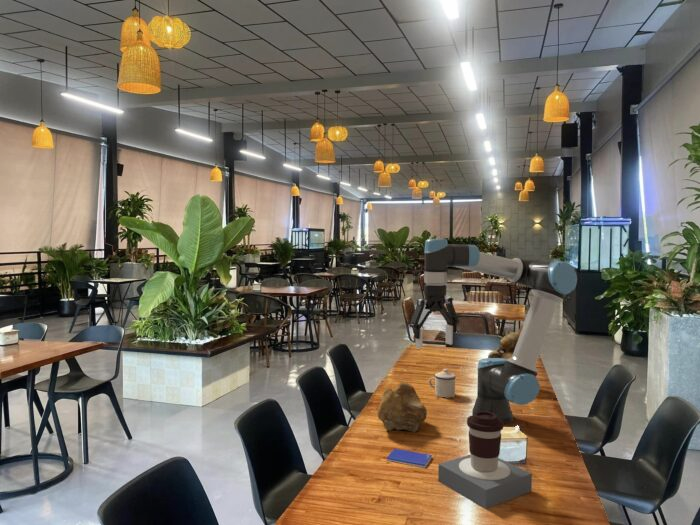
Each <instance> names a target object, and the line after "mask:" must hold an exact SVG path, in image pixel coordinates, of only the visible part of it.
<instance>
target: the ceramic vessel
mask: <svg viewBox="0 0 700 525" xmlns="http://www.w3.org/2000/svg"><path fill="white" fill-rule="evenodd" d="M523 325H524V324H521V326H520V328H519V329H518V330H517V332H510V331H509V330H508V329H507V330H506V331H505V335H504V336H503V337H502V339H500V340H499V347H498V348H497V349H495V350H493V351H491V352H489V353H488V355H487V358H504V359H509V358H511V357H512V355H513V353H514V350H515V347H516V344H517V342H518V339H519V336H520V333H521V330H522V328H523ZM502 351H503V352H502Z"/></svg>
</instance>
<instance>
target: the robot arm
mask: <svg viewBox="0 0 700 525" xmlns="http://www.w3.org/2000/svg"><path fill="white" fill-rule="evenodd" d="M423 252H424V253H423V254H424V270H423V271H424V274H423V277H424V278H423V279H424V282H423V283H424V285H423V295H424V297H425V298H424V299H421V298H417V300H416V301H417V302H416V306H415V310H414V312H413V314H412V317H411V319H410V322H409V324H408V325H409V327H410V328H412V329H413V331H414V333H413V338H414V339H415V343H414V344H415V348H416V349H419V350H422V349H423V340H424V339H423V335H424V334H423V331H424V330H423V328H422V327H423V325H424V323H425V322H426V320H427V319H428V317H429V316H430V315H431V314H432V313H435V312H440V314H441V316H442V317H443V319H444V320H445V322H446V324H445V345H450V346H451V345H453V341H454V339H453V337H454V336H453V335H454V334H455V333H454V332H455V327H456V326H457V324H459V321H460V320H459V317H458V315H457V312H456V309H455V307H454V304H453V298H452V297H451V296H450V297H449V296H447V283H448V282H447V281H448V280H447V272H448V267H449V268H451V267H453V268H458V269H462V270H467V271H471V272H476V273H479V274H480V273H482V274H484V275H485V274H486V275H490V276H494V277H499V278H504V279H507V280H508V281H509V282H511V283H515V284H517V285H521V286H524V287H527V288H529V289H530V288H531V294H532V296H533V298H532V300H531V303H530V306H529V308H528V312H527V314H526V317H525V320H524V322H523V324H522V325H523V328H522V330H521V333H520V336H519V339H518V342H517V344H516V347H515V350H514V353H513V355H512V357H511V358H509V359H504V358H488V357H485V358H481V359H479V360H478V363H477V368H476V369H477V387H476V388H477V394H476V395H477V396H476V400H475V402H474V405H473V408H472V411H471V412H472V413H471V414H472V415H473V413H475V412H478V411H487V412H492V413H494V414H496V415H497V416H498V418H499V419H501V420H502V421H503V425H504V424H509V423H511V422H512V421H513V411H512V409H511V405H510V403H512V404H516V405H519V406H524V405H528V404H529V403H531V402H533V401H534V400H535V399H536V398H537V396H538V395H539V391H540V384H539V379H538V378H537V375H538V373H539V371H538V369H537V366H536V365H537V362H538V360H539V358H540V357H539V356H540V353H541V351H542V348H543V346H544V342H545V339H546V336H547V333H548V331H549V329H550V327H551V326H550V325H551V323H552V320H553V317H554V315H555V311H556V308H557V306H558V304H559V303H560V304H561V303H562V302H564V300H565V296H566V295H568V294H571V292H574V291H575V289H576V286H577V282H578V275H577V272H576V270H575V268H574V267H573V265H571V264H570V263H569V262H567V261H561V260H559V259H558V260H557V259H553V260H549V259H538V258H537V259H535V258H534V259H531V258H530V259H526V258H519V257H514V258H507V257H504V256H503V257H502V256H499V255H496V254H495V255H494V254H491V253H490V254H489V253H485V252H481V251H480V250H479V247H478V246H477V245H475V244H453V243H452V244H449V243H448V240H447V238H428V239H426V240H425V243H424V250H423ZM472 415H471V416H472Z"/></svg>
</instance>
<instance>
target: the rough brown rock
mask: <svg viewBox="0 0 700 525" xmlns="http://www.w3.org/2000/svg"><path fill="white" fill-rule="evenodd" d="M427 415H428V413H427V408H426V406H425V405H424V404H423V403H422V402H421V401H420V398H419V395H418V394H417V391H416V390H415V387H414V386H413V385H411V384H410V383H408V382H405V381H402V382H399V383H398V384H397V386H396V387H395V389H394V390H393V389H392V388H390V387H385V389H384V390H383V392H382V395H381V399H380V402H379V405H378V409H377V417H378V420H380V421H381V422H382V425H383V427H384V429H385V430H386V431H393V430H394V429H395V430H397V431H398V430H399V431H400V430H407V431H408V432H412V433H417V431H419V429H420V428H421V426H422V425H423V424H424V422H425V421H426V419H427Z"/></svg>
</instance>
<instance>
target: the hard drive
mask: <svg viewBox="0 0 700 525" xmlns="http://www.w3.org/2000/svg"><path fill="white" fill-rule="evenodd" d="M432 458H433V455H432V454H430V453H429V454H427V453H423V452H417V451H416V452H415V451H410V450H406V449H405V450H404V449H400V448H399V449H398V448H394V449H393V450H392V451H390V453H389V455H387V457H386V461H388V462H392V461H393V463H397V462H399V463H398V464H402V463H406V464H405V465H408V464H410V465H409V466H413V465H415V466H414V467H418V466H419V467H418V468H424V469H425V468H426V467H427V466H428V464H429V463H430V461H431V460H432Z"/></svg>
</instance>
